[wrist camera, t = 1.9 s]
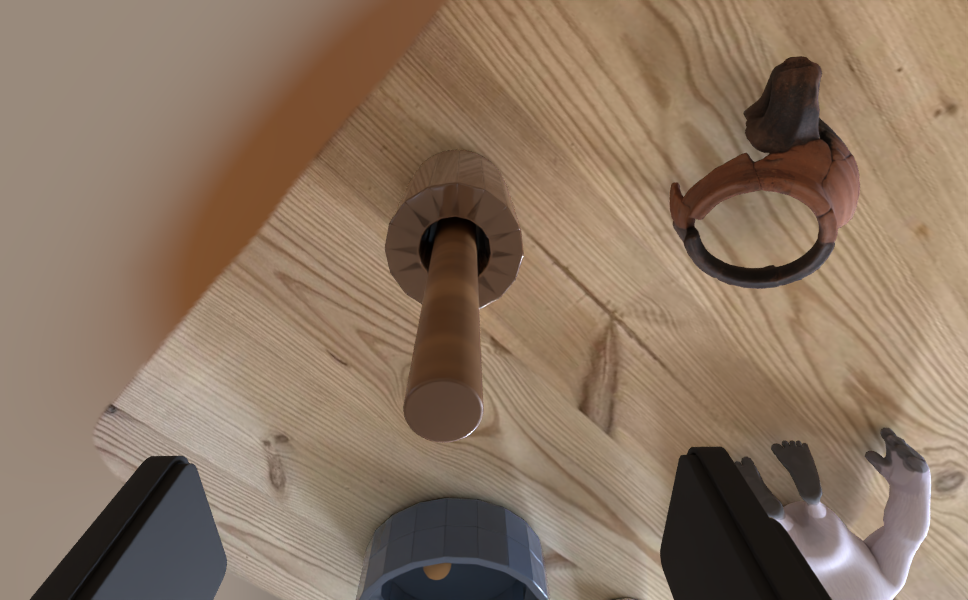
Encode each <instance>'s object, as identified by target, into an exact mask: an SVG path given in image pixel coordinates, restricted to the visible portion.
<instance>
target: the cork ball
mask: <svg viewBox="0 0 968 600" xmlns="http://www.w3.org/2000/svg"><path fill="white" fill-rule="evenodd" d="M450 569H451V563H441V564H435V565H430V566H424V567H423V570H424V572H425V574H426V575H427V576H428V577H429V578H430V579H433V580H440V579H443V578H444V577H445V576H447V574H448V573H449V571H450Z"/></svg>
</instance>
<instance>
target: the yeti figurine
mask: <svg viewBox="0 0 968 600" xmlns="http://www.w3.org/2000/svg"><path fill="white" fill-rule="evenodd" d="M881 436H882V438H883V439H884V441H885V443H886V457H884V458H883V457H882V456H881V455H879V454H878V453H876V452H874V451H868V452H866V454H865V457H866V459H867V460H868V461H869V462H870V463H871V464H872V465H873V466H874V467H875V469H876V470H877V471H878V472H879V473H880V474H881V475H883V476H884V477H885V478H886V480H887V482H888V483H889V485H890V489H889V498H888V501H887V504H886V507H885V509H884V517H883V521H884V526H882V527H880V528H879V529H877V530H876V531H874V532H873V533H872V534H870V535H869V536H868V537H867V538H866V539H865V540H863V541H862V540H861V539H860V538H859V537H857V536H856V535H855V534H853V533H852V532H851V531H850V530H849V529H848V528H847V527H846V525H845V524H844V523H843V522H842V520H841V519H840V518H839V517H838V516H837V515H836V513H835V512H834V511H832V510H831V509H830V508H829V507H827V506H825V505H824V504H822V503H821V502H820V498H821V496H822V489H821V485H820V480H819V476H818V472H817V469H816V466H815V463H814V460H813V457H812V455H811V453H810V450H809V448H808V445H807V444H806V443H803V444H801V442H800V441H796V444H795V442H794V441H790V442H789V443H790V445H789V443H788V442H787V441H782V446H783V447H784V448H783V447H782V446H781V445H780V444H773V445H772V446H771V450H772V451H773V453H774V454H775V455H776V457H777V458H778V460H779V461H780V462H781V463H782V465H783V466H784V467H785V468H786V469H787V471H788V472H789V473H790V475H791V477H792V479H793V481H794V483H795V485H796V487H797V489H798V492H799V494H800V496H801V498H802V499H803V500H804V501H797V502H792V503H789V504H788V505H786V506H784V507H783V506H782V504H781V502H780V501H779V500H778V499H777V498H776V497H775V496H774V495H773V494H772V492H771V491H770V490H769V488H768V487H767V486H766V485H765V483H764V482H763V480H762V478H761V476H760V473H759V471H758V470H757V468H756V466H755V465H754V462H753V461H752V460H751V458H749V457H744V458H742V461H741V463H742V465H741V463H740V462H738V461H737V462H735V465H736V466H737V468H738V470H739V471H740V473H741V474H742V476H743V477H744V479H745V481H746V482H747V484H748V485H749V487H750V488H751V490H752V491H753V493H754V495H755V496H756V498H757V499H758V501H759V502H760V504H761V505H762V507H763V509H764V510H765V512H766V513H767V515H768V516H769V517H772V518H774V519H775V520H777V521H778V522H779V523H781V525H782V526H783V527H784V528H785V529H786V531H787V532H788V534H789V535H790V537H791V538H792V540H793V541H794V543H795V544H796V546H797V547H798V549H799V550H800V552H801V553H802V555H803V556H804V558H805V559H806V561H807V562H808V564H809V565H810V567H811V569H812V570H813V572H814V573H815V575H816V576H817V578H818V579H819V581H820V582H821V584H822V585H823V587H824V588H825V590H826V591H827V593H828V594H829V596H830V597H831V599H832V600H892V599H893V598H894V597H895V595H896V594H897V593H898V592H899V591H900V590H901V589H902V587H903V585H904V584H905V581H906V578H907V574H908V571H909V568H910V565H911V562H912V559H913V556H914V554H915V552H916V550H917V549H918V548H919V546H920V544H921V542H922V541H923V540H924V538H925V537H926V535H927V532H928V529H929V525H930V496H931V478H930V471H929V467H928V465H927V463H926V461H925V460H924V458H923V457H922V456H921V455H920V454H918V452H916V451H915V450H914V449H913V448H912V447H910V446H909V445H908V444H906V442H905V441H904V440H903V439H901V438H899V437H897V436H896V434H895V433H894V432H893V431H892V430H891V429H890V428H883V429H881ZM796 445H797V446H796ZM802 446H803V447H802Z"/></svg>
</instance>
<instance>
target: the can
mask: <svg viewBox="0 0 968 600" xmlns="http://www.w3.org/2000/svg"><path fill="white" fill-rule="evenodd" d="M613 600H636V599H632V598H618V599H613Z"/></svg>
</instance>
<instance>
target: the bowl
mask: <svg viewBox="0 0 968 600" xmlns="http://www.w3.org/2000/svg"><path fill="white" fill-rule="evenodd" d="M441 563H451V569H450V571H449V573H448V574H447V576H445V577H444V578H443V579H440V580H433V579H430V578H429V577H428V576H427V575H426V574H425V572H424V570H423V567H424V566H430V565H435V564H441ZM356 600H550V594H549V587H548V581H547V574H546V568H545V561H544V555H543V551H542V547H541V543H540V539H539V537H538V536H537V535H536V534H535V532H534V531H533V530H532V528H531V527H530V526H529V525H528V523H527V522H526V521H525V520H523V519H522V518H520V517H519V516H517V515H515V514H514V513H512V512H511V511H509V510H507V509H506V508H504V507H502V506H498V505H495V504H492V503H488V502H485V501H481V500H478V499H477V500H476V499H461V498H442V499H437V500H432V501H426V502H421V503H418V504H415V505H413V506H411V507H409V508H406V509H404V510H402V511H400V512H398V513H396V514H394V515H392V516H391V517H390V518H389V519H387V520H386V521H385V522H384V523H383V524H382V525H381V526H380V527H379V528H378V529H376V530H375V532H374V534H373V536H372V538H371V540H370V542H369V544H368V546H367V549H366V553H365V557H364V562H363V567H362V572H361V577H360V582H359V586H358V591H357V596H356Z"/></svg>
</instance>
